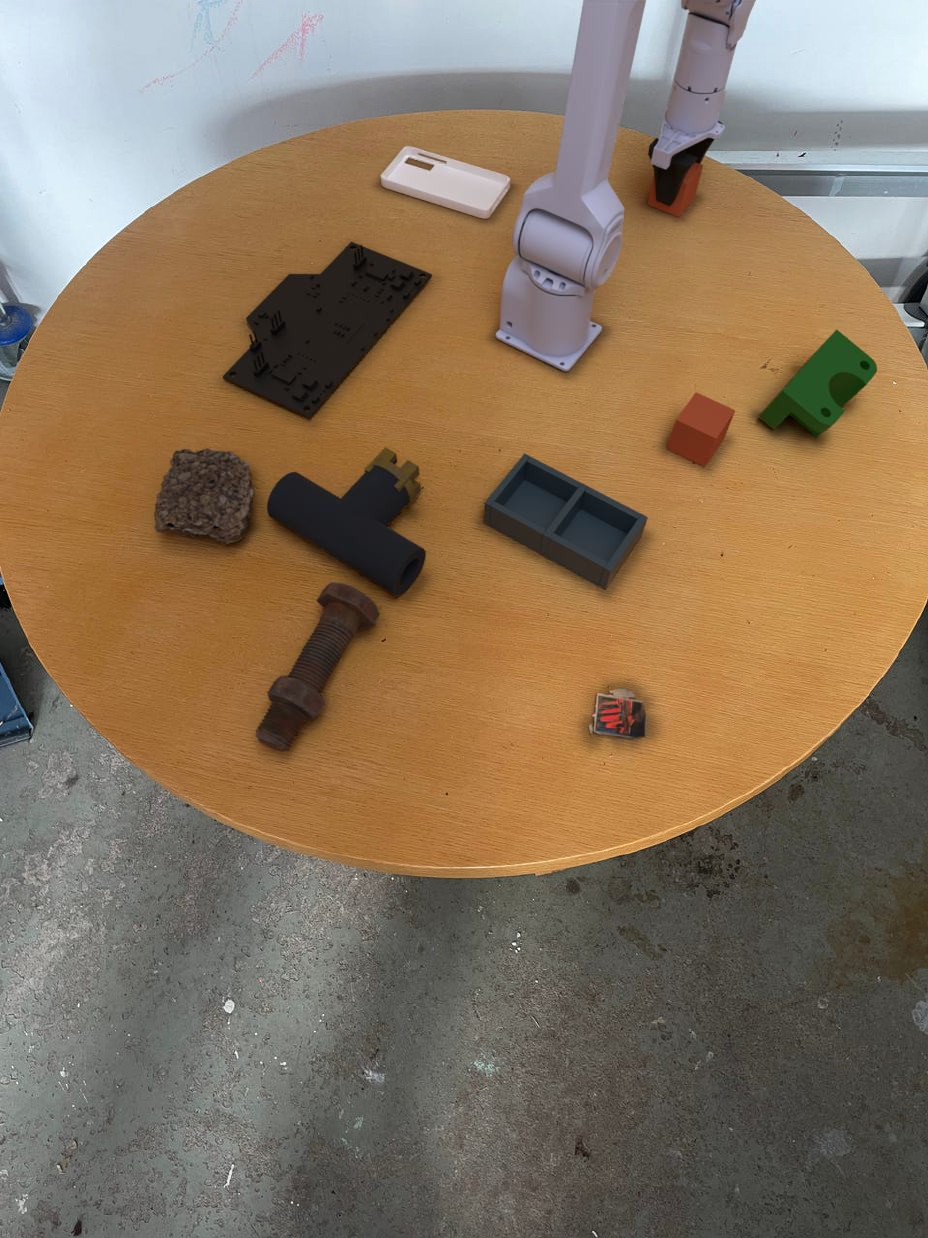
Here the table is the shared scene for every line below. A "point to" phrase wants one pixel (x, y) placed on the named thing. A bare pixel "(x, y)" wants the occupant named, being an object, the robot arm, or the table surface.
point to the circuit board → (323, 327)
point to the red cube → (700, 429)
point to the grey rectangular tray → (564, 520)
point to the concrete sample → (206, 496)
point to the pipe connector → (357, 520)
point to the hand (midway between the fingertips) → (673, 191)
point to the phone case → (447, 183)
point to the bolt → (315, 664)
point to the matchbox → (619, 715)
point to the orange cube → (684, 194)
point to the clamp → (822, 386)
